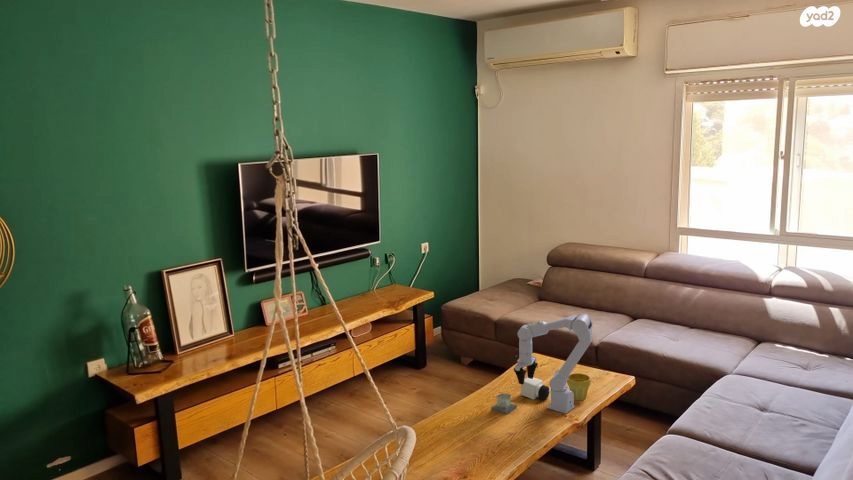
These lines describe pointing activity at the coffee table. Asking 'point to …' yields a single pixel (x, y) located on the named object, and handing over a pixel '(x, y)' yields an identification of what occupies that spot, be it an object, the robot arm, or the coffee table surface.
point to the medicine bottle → (534, 389)
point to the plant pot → (579, 385)
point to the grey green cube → (503, 400)
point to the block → (504, 411)
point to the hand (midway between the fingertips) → (525, 381)
